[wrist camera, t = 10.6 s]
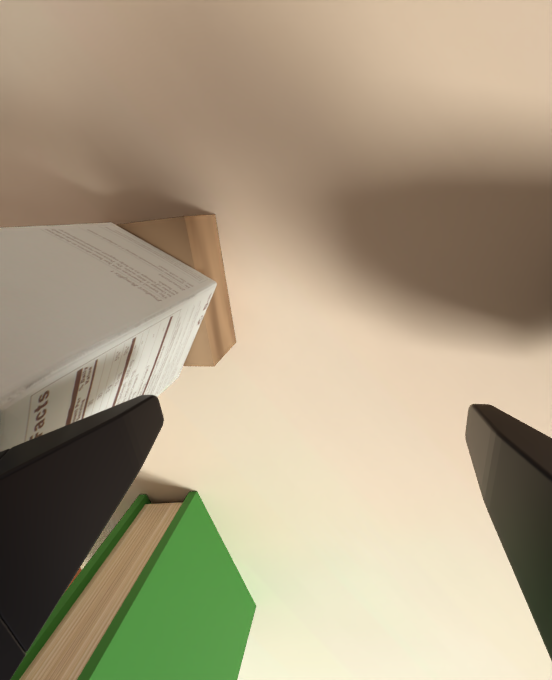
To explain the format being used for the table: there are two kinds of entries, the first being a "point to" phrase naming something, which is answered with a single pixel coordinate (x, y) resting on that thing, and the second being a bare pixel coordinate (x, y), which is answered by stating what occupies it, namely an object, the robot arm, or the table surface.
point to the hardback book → (149, 604)
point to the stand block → (204, 256)
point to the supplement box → (88, 323)
